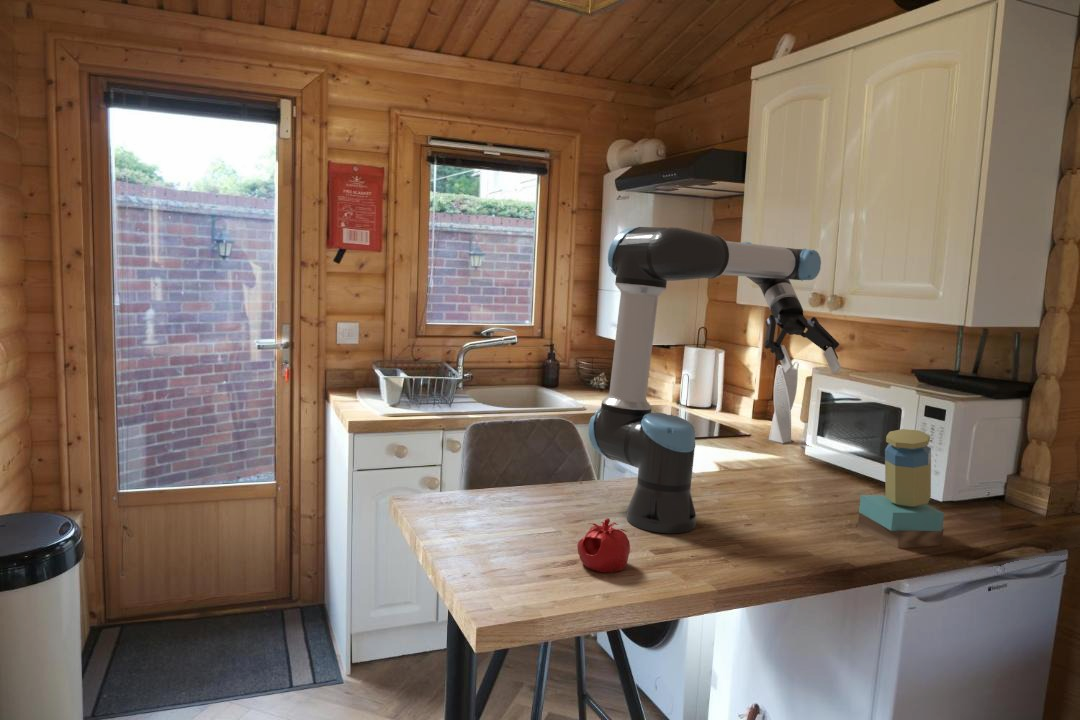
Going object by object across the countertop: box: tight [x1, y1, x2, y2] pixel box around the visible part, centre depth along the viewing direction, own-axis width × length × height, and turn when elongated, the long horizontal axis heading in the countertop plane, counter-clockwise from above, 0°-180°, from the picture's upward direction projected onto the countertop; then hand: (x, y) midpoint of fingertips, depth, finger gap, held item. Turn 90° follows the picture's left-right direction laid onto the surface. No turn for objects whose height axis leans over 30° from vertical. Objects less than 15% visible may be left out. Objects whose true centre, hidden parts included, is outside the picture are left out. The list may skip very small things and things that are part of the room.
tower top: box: [858, 494, 945, 531], centre depth 166 cm, size 12×12×4 cm
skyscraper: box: [764, 361, 800, 445], centre depth 255 cm, size 8×8×28 cm
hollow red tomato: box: [577, 517, 631, 574], centre depth 140 cm, size 10×10×9 cm
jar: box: [884, 428, 932, 507], centre depth 164 cm, size 9×9×15 cm
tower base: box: [857, 513, 944, 549], centre depth 167 cm, size 12×12×4 cm
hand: (813, 370), depth 183 cm, fingers open, 13 cm apart
